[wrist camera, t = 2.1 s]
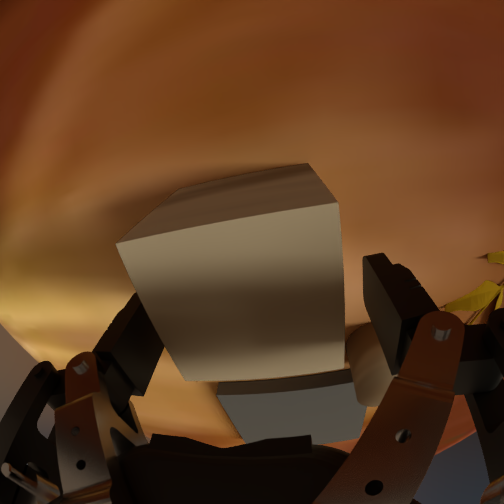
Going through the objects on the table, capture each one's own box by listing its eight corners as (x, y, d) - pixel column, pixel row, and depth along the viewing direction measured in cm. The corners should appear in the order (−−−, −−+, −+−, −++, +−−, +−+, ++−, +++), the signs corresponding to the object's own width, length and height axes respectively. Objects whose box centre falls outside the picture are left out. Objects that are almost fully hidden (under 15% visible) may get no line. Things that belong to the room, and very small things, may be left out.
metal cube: (179, 188, 12) (115, 243, 7) (308, 162, 11) (338, 202, 6) (212, 293, 15) (185, 380, 10) (322, 278, 14) (343, 368, 9)
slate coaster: (218, 382, 19) (216, 395, 18) (369, 365, 17) (372, 378, 16) (250, 439, 23) (249, 448, 22) (357, 428, 22) (358, 437, 21)
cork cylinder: (346, 326, 15) (359, 378, 12) (400, 315, 15) (422, 362, 11) (345, 363, 17) (354, 411, 13) (393, 353, 16) (409, 398, 13)
